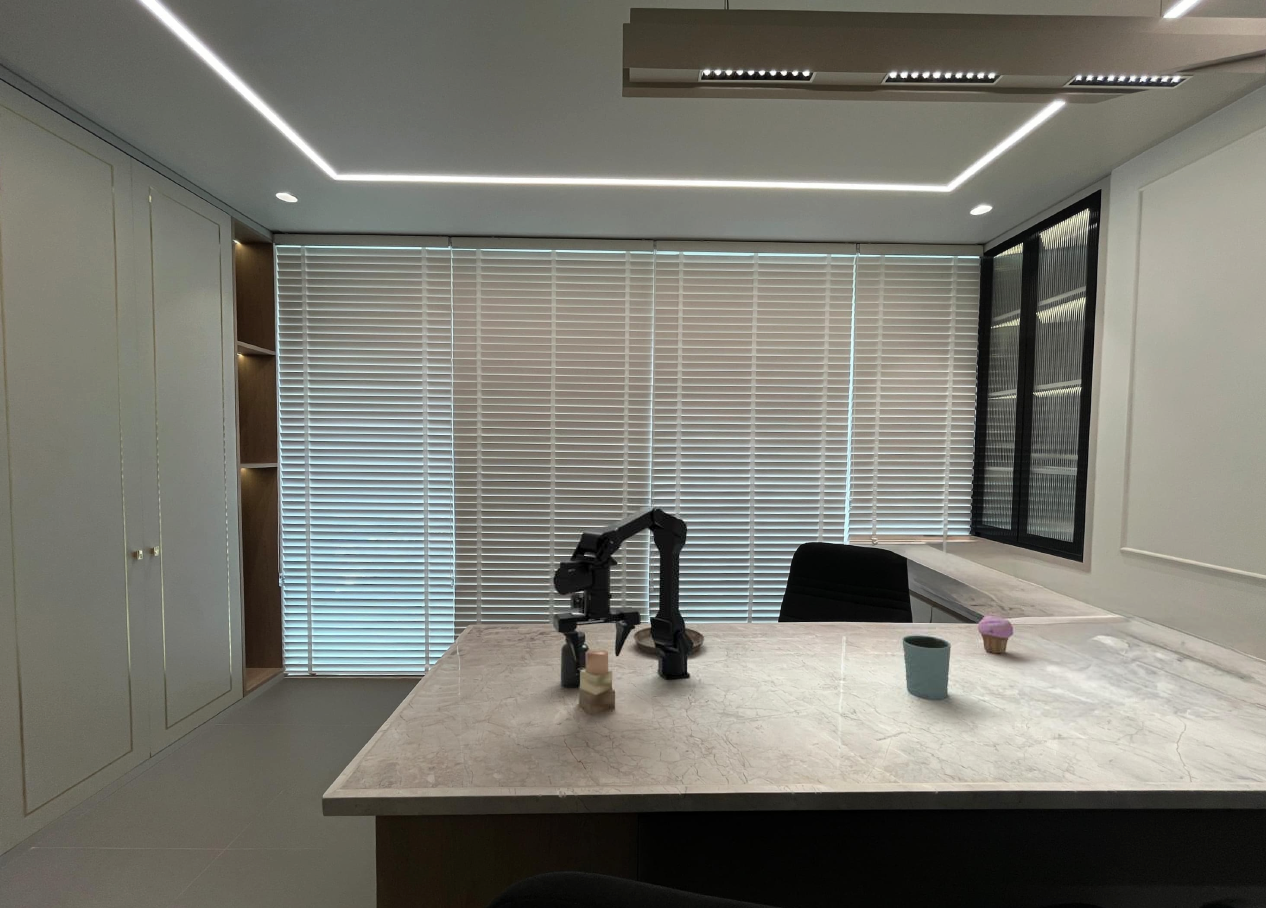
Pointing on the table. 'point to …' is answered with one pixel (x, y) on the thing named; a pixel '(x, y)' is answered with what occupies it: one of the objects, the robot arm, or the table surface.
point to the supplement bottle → (573, 662)
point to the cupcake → (995, 633)
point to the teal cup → (927, 666)
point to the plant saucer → (647, 644)
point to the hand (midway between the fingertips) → (597, 658)
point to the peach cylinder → (596, 661)
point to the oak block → (595, 682)
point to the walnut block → (597, 701)
